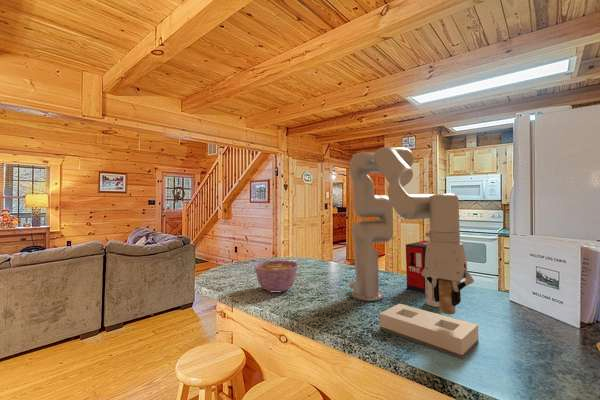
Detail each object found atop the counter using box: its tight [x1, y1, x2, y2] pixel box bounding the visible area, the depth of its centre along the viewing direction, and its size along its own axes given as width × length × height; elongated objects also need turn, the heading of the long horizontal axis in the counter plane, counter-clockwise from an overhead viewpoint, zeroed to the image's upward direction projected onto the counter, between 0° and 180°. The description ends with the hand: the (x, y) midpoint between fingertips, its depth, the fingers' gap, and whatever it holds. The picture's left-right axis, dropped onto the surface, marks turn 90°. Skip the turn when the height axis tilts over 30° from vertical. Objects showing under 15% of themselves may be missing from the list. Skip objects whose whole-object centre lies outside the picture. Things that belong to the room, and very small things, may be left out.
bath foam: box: [424, 278, 439, 308], centre depth 112 cm, size 7×7×20 cm
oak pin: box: [438, 279, 456, 315], centre depth 82 cm, size 4×4×9 cm
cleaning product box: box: [405, 240, 430, 294], centre depth 133 cm, size 16×9×20 cm, turn 127°
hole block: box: [379, 303, 479, 360], centre depth 87 cm, size 12×24×5 cm, turn 42°
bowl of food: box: [254, 260, 299, 292], centre depth 135 cm, size 20×20×12 cm
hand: (447, 302), depth 82 cm, fingers closed on oak pin, 4 cm apart
